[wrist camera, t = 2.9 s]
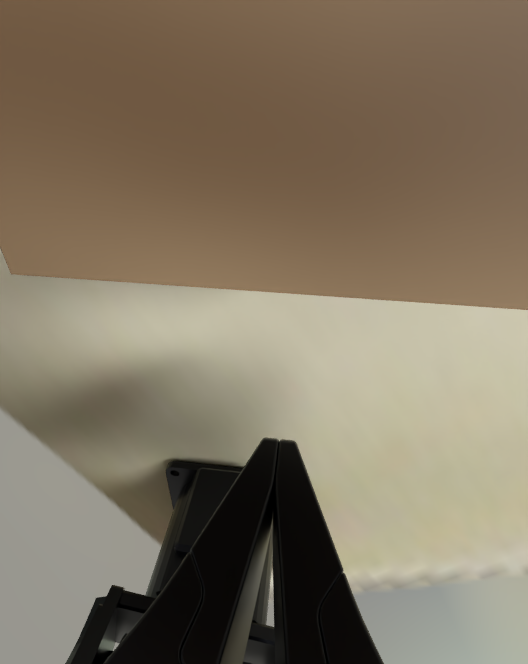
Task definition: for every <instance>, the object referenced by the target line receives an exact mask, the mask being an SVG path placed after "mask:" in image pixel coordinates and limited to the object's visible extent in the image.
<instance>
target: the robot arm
mask: <svg viewBox="0 0 528 664" xmlns="http://www.w3.org/2000/svg"><path fill="white" fill-rule="evenodd" d="M166 476H167V481H168V485H169V490H170V495H171V500H172V504H173V509H174V511H173V514H172V517H171V520H170V523H169V526H168V529H167V532H166V535H165V538H164V541H163V544H162V547H161V550H160V553H159V556H158V559H157V562H156V565H155V568H154V571H153V574H152V577H151V580H150V583H149V586H148V589H147V592H146V595H141V594H136V593H133V592H129V591H125V590H124V588H123V587H119V586H115V585H112V586H111V588H110V590H109V593H108V595H107V596H106V597H99V598H96V600H95V602H94V605H93V607H92V609H91V612H90V614H89V616H88V619H87V621H86V623H85V626H84V628H83V630H82V632H81V635H80V637H79V639H78V641H77V643H76V645H75V647H74V649H73V651H72V653H71V655H70V656H69V658H68V660H67V662H66V663H65V664H384V663H383V661H382V659H381V657H380V655H379V653H378V651H377V649H376V647H375V644H374V642H373V640H372V638H371V636H370V634H369V631H368V630H367V627H366V625H365V623H364V621H363V619H362V616H361V614H360V611H359V609H358V606H357V604H356V601H355V599H354V596H353V594H352V591H351V588H350V586H349V583H348V580H347V578H346V575H345V574H344V573H343V567H342V565H341V562H340V559H339V557H338V554H337V551H336V549H335V546H334V543H333V541H332V538H331V535H330V532H329V530H328V527H327V524H326V522H325V519H324V516H323V514H322V511H321V508H320V505H319V503H318V500H317V497H316V495H315V492H314V489H313V487H312V484H311V481H310V479H309V476H308V473H307V470H306V468H305V465H304V462H303V460H302V457H301V454H300V452H299V449H298V446H297V444H296V442H295V441H293V440H284V439H282V440H280V441H279V440H278V439H274V438H263V439H262V441H261V442H260V444H259V445H258V447H257V448H256V450H255V451H254V453H253V454H252V456H251V457H250V459H249V460H248V462H247V463H246V465H245V467H244V468H243V469H241V468H232V467H224V466H215V465H206V464H197V463H188V462H179V461H172V462H170V463H169V464H168V466H167V469H166ZM272 558H273V584H274V627H271V626H267V625H266V621H267V610H268V600H269V589H270V579H271V568H272ZM115 642H117V643H120V644H119V645H118V647H117V648H116V649H115V650H114V651H113V648H114V644H115Z"/></svg>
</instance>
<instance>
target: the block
mask: <svg viewBox="0 0 528 664" xmlns="http://www.w3.org/2000/svg"><path fill="white" fill-rule="evenodd" d="M0 247H1V250H2V253H3V255H4V258H5V260H6V263H7V265H8V268H9V270H10V273H11V274H17V275H31V276H46V277H60V278H74V279H89V280H103V281H118V282H132V283H147V284H161V285H176V286H190V287H204V288H219V289H233V290H248V291H262V292H277V293H291V294H305V295H320V296H334V297H349V298H363V299H378V300H392V301H407V302H421V303H435V304H450V305H464V306H479V307H493V308H508V309H522V310H528V0H0Z"/></svg>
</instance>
